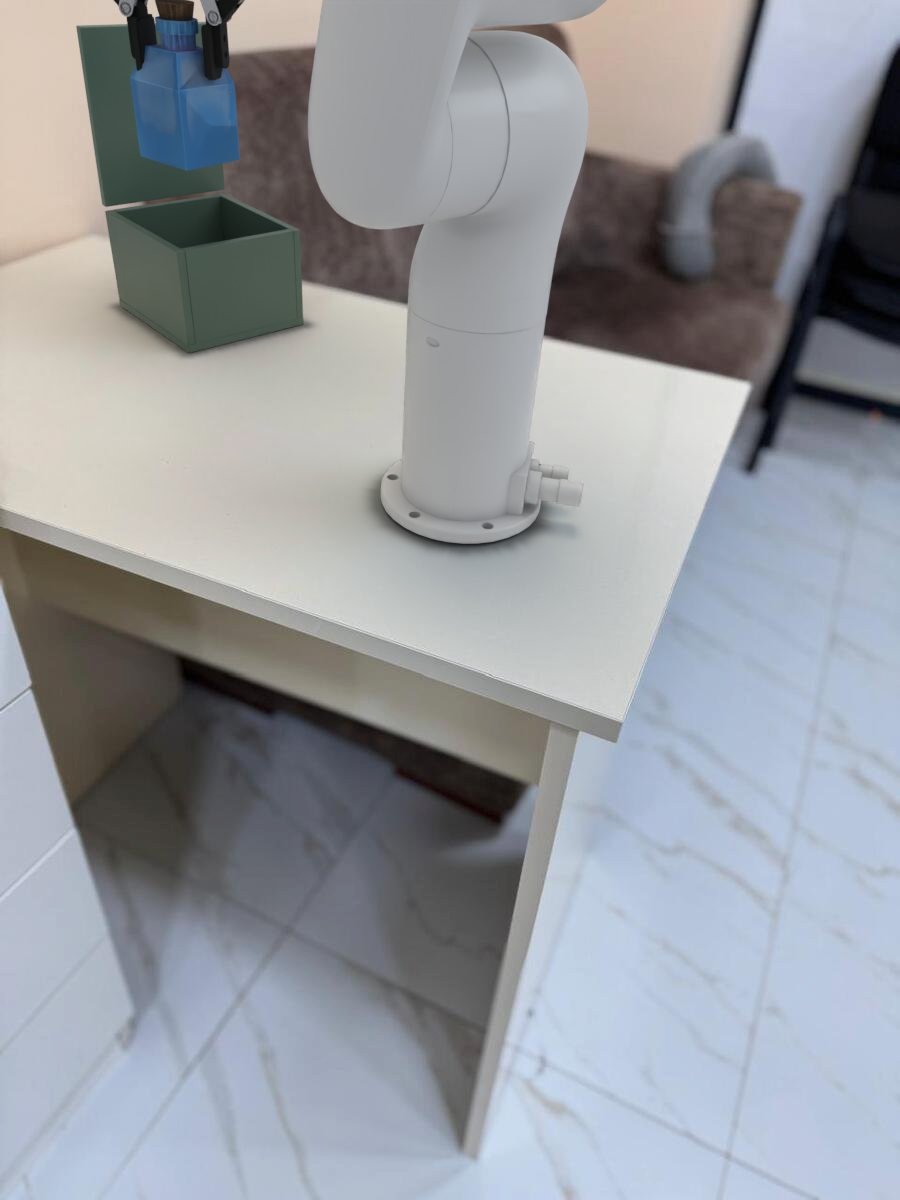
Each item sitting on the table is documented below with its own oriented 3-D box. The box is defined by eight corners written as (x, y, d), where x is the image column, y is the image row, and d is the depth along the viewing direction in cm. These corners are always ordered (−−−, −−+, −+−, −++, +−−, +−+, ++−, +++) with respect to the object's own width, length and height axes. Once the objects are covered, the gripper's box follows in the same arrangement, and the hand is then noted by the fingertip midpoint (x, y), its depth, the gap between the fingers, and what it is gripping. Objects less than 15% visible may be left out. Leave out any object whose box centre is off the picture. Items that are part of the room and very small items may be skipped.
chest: (303, 324, 97) (300, 229, 91) (189, 353, 89) (177, 252, 83) (230, 282, 105) (223, 193, 99) (120, 306, 98) (104, 210, 91)
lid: (214, 23, 88) (187, 12, 91) (79, 27, 81) (54, 15, 84) (224, 189, 98) (200, 175, 101) (105, 207, 91) (82, 191, 94)
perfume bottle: (140, 156, 82) (119, -3, 74) (194, 146, 86) (179, -5, 78) (186, 170, 79) (169, 8, 72) (239, 159, 83) (228, 4, 76)
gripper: (17, -219, 65) (67, 70, 76) (248, -200, 63) (263, 92, 75) (69, -210, 71) (108, 57, 82) (281, -193, 69) (291, 77, 81)
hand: (182, 71), depth 78 cm, fingers closed on perfume bottle, 5 cm apart
